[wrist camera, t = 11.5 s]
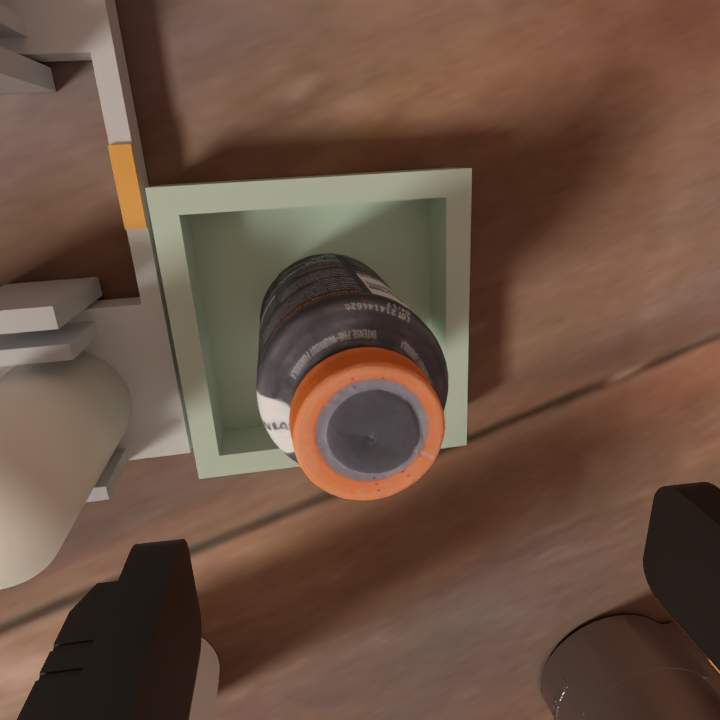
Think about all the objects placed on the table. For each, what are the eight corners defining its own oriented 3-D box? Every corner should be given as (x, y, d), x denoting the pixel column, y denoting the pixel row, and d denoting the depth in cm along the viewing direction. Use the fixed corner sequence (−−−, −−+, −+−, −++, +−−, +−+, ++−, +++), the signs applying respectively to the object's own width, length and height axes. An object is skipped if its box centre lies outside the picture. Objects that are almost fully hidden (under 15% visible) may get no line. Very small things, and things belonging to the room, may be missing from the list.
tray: (448, 167, 23) (472, 168, 20) (446, 416, 27) (466, 445, 24) (161, 184, 22) (144, 187, 19) (206, 445, 26) (199, 478, 23)
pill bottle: (263, 382, 24) (256, 545, 14) (256, 251, 22) (241, 328, 12) (390, 376, 25) (473, 526, 15) (395, 250, 23) (494, 320, 13)
